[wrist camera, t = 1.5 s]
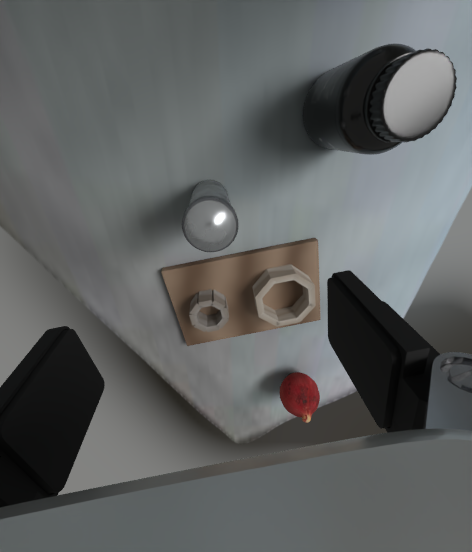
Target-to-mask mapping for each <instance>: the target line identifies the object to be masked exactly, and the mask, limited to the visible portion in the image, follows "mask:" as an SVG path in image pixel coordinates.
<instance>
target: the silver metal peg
mask: <svg viewBox="0 0 472 552" xmlns="http://www.w3.org/2000/svg"><path fill="white" fill-rule="evenodd" d="M182 229H183V233H184V235H185V237H186V239H187V241H188V242H189V243H190V244H191V245H192V246H194V247H195V248H197V249H199V250H201V251H205V252H216V251H220V250H223V249H224V248H226V247H228V246H229V245H230V244H231V243H232V242H233V241H234V239H235V237H236V235H237V232H238V219H237V215H236V213H235V210H234V209H233V207H232V206H231V204H230V200H229V197H228V194H227V191H226V189H225V188H224V186H223V185H222V184H220V183H219V182H217V181H214V180H205V181H202V182H200V183H199V184H197V186H196V187H195V188H194V190H193V192H192V196H191V200H190V204H189V206H188V207H187V208H186V210H185V213H184V216H183V220H182Z"/></svg>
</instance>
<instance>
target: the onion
mask: <svg viewBox="0 0 472 552" xmlns="http://www.w3.org/2000/svg"><path fill="white" fill-rule="evenodd" d="M280 398H281V401H282V403H283V405H284V407H285V409H286V410H287V411H288V412H290V413H291V414H293V415H295V416H297V417H302V418H303V419H302V420H303V421H304V422H306V423H308V422H309V421H311V415H312V414H313V413H314V412H315V410H316V409H317V407H318V404H319V399H320V396H319V391H318V387H317V385H316V383H315V382H314V380H312V379H311V378H310V377H309V376H308V375H306V374H303V373H300V372H296V373H292V374H289V375H288V376H287V377H286V378H285V379H284V380H283V382H282V384H281V386H280Z"/></svg>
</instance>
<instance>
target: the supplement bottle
mask: <svg viewBox="0 0 472 552" xmlns="http://www.w3.org/2000/svg"><path fill="white" fill-rule="evenodd" d="M455 72H456V70H455V69H454V68H453V63H452V62H451V61H450V59H449V57H448V56H445V54H444V53H443V52H439V51H438V50H436V49H435V50H431V49H425V50H418V51H416V50H414V49H413V48H411V47H409V46H406V45H403V44H388V45H384V46H381V47H378V48H375V49H373V50H371V51H369V52H367V53H365V54H362V55H360V56H358V57H356V58H354V59H352V60H350V61H348V62H346V63H343V64H341V65H339V66H337V67H335V68H333V69H331V70H329V71H328V72H326V73H324V74H323V75H322V76H321V77H320V78H318V79H317V81H316V82H315V83H314V84H313V86H312V87H311V89H310V91H309V92H308V95H307V97H306V100H305V104H304V109H303V121H304V126H305V129H306V132H307V134H308V135H309V137H310V138H311V139H312V141H313V142H315V143H316V144H317V145H319V146H321V147H324V148H328V149H333V150H340V151H347V152H353V153H360V154H380V153H384V152H387V151H389V150H391V149H393V148H395V147H397V146H398V145H400V144H401V143H402V142H409V141H415V140H417V139H418V138H422V137H424V135H426V134H429V133H430V132H431V131H432V130H433V129H435V128H436V127H437V125H438V124H439V123H440V122H442V120H443V118H444V116H445V115H446V114H447V112H448V109H449V108H450V107H451V104H452V100H453V98H454V95H455V94H454V92H455V90H456V80H457V78H456V76H455Z"/></svg>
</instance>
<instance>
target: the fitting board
mask: <svg viewBox="0 0 472 552" xmlns="http://www.w3.org/2000/svg"><path fill="white" fill-rule="evenodd" d="M161 272H162V275H163V278H164V281H165V284H166V287H167V289H168V292H169V295H170V298H171V301H172V304H173V306H174V309H175V312H176V315H177V318H178V321H179V324H180V326H181V329H182V332H183V335H184V338H185V341H186V343H187V346H189V345H194V344H200V343H205V342H210V341H215V340H220V339H225V338H230V337H235V336H240V335H245V334H251V333H256V332H261V331H266V330H271V329H276V328H281V327H286V326H291V325H296V324H302V323H307V322H312V321H317V320H320V291H319V258H318V240H317V239H316V238H311V239H306V240H301V241H296V242H291V243H286V244H281V245H276V246H271V247H266V248H261V249H256V250H250V251H245V252H240V253H235V254H230V255H225V256H220V257H215V258H210V259H205V260H200V261H195V262H190V263H185V264H180V265H175V266H170V267H165V268H162V271H161Z"/></svg>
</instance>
